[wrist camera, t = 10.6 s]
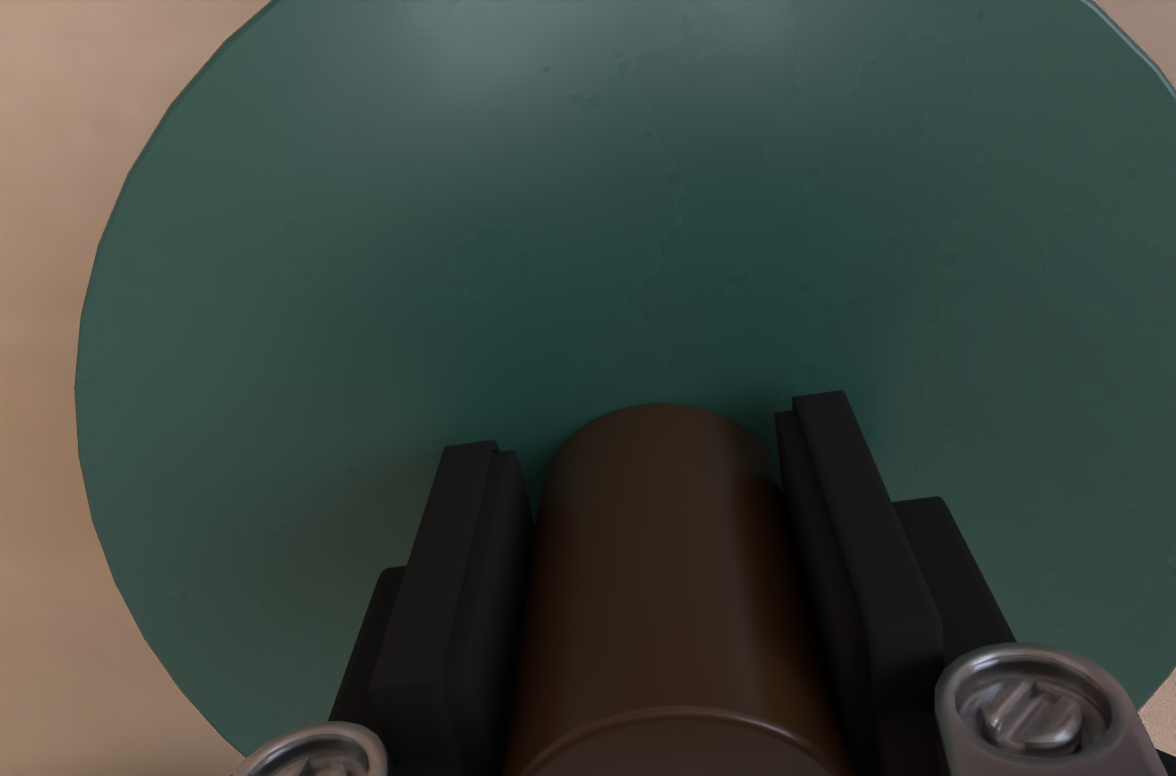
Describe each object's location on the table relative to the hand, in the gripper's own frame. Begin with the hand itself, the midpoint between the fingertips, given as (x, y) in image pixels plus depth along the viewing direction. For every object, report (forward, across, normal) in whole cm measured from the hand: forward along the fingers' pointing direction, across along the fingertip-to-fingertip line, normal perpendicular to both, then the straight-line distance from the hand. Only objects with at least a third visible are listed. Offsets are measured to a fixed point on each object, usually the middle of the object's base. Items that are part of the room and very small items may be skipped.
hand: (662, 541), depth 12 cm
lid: (+1, 0, 0) cm, 1 cm away
